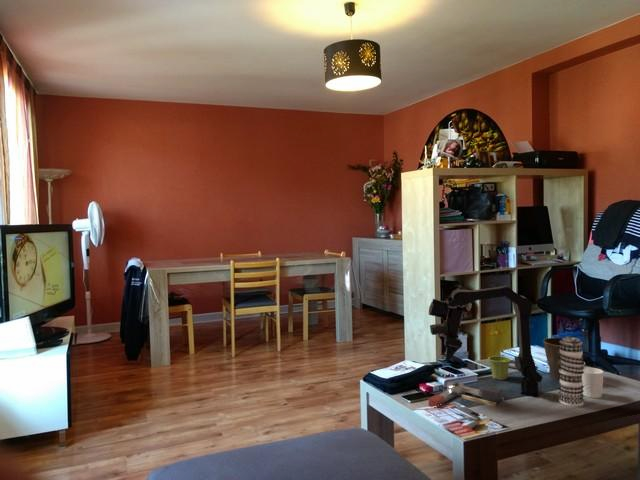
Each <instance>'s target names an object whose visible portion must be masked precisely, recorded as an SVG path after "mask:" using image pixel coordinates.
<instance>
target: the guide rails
mask: <svg viewBox="0 0 640 480" xmlns="http://www.w3.org/2000/svg"><path fill="white" fill-rule="evenodd" d="M468 394H469V395H466V394H464V395H461V396H460V397H461V399H462V400H467V401H471V402H475V403H479V404H483V405H487V406H491V407H497V406H496V403H495V402H491V401H487V400H483V399H482V398H479V397H482V392H481V394H480V395H476V394H472V393H468ZM470 394H471V395H474V396H477V397H478V398H477V397H474V396H470ZM504 400H505V397H503V396H502V402H504Z"/></svg>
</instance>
